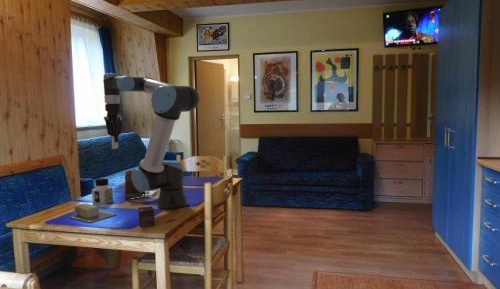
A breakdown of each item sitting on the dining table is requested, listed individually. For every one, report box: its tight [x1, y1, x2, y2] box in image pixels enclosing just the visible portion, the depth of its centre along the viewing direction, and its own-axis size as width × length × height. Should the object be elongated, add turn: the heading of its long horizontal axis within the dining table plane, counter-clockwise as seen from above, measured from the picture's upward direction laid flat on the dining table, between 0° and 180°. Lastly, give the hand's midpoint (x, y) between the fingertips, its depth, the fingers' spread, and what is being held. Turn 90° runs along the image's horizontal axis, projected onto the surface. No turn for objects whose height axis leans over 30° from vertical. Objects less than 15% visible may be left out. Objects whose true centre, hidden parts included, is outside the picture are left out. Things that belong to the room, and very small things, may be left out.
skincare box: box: [73, 202, 100, 218], centre depth 182 cm, size 6×4×12 cm
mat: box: [68, 210, 117, 224], centre depth 181 cm, size 16×14×1 cm
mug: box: [124, 169, 150, 200], centre depth 217 cm, size 16×11×15 cm
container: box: [91, 177, 114, 205], centre depth 208 cm, size 8×8×13 cm
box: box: [137, 205, 156, 228], centre depth 167 cm, size 6×6×7 cm
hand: (115, 148), depth 203 cm, fingers closed
